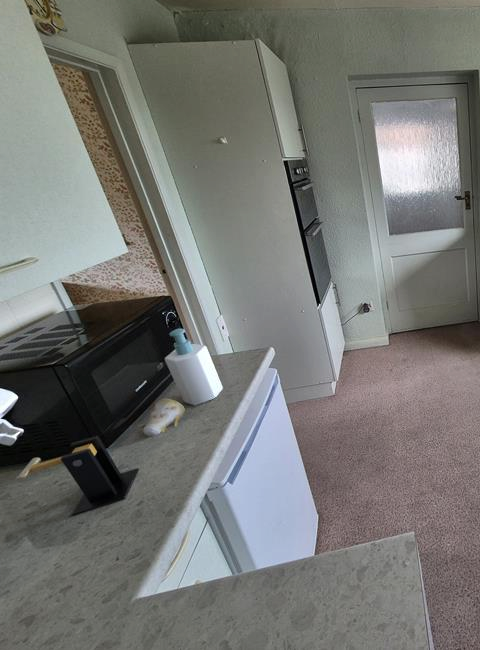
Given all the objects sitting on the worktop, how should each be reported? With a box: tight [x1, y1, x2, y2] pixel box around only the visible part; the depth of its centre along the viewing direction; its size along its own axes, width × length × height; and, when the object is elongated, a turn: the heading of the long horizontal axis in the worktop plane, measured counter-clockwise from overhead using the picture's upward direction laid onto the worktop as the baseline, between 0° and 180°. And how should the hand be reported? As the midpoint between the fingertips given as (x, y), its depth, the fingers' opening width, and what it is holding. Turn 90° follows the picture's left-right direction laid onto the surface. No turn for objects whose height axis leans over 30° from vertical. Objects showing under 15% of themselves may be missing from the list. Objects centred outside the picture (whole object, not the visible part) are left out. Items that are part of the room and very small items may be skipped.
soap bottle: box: [164, 328, 224, 406], centre depth 111 cm, size 10×9×22 cm
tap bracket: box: [61, 435, 140, 517], centre depth 81 cm, size 9×9×14 cm
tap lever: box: [15, 443, 97, 484], centre depth 77 cm, size 11×6×2 cm, turn 112°
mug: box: [142, 398, 186, 437], centre depth 103 cm, size 8×10×10 cm
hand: (18, 437), depth 74 cm, fingers closed
